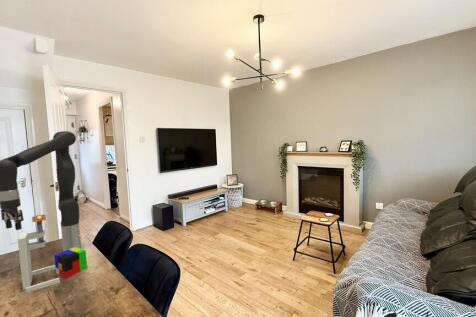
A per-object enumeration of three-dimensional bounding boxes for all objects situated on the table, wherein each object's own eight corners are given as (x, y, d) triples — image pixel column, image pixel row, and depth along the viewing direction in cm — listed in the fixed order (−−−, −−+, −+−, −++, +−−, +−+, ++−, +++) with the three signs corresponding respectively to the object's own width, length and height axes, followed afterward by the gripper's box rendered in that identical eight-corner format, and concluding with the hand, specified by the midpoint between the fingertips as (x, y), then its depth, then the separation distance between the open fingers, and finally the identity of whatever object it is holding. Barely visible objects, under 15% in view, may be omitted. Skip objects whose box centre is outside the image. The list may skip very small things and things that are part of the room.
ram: (48, 244, 117) (45, 214, 116) (48, 248, 113) (45, 216, 112) (35, 247, 114) (32, 216, 113) (34, 251, 110) (31, 218, 109)
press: (60, 266, 125) (56, 224, 124) (59, 282, 111) (55, 234, 109) (26, 276, 117) (22, 230, 115) (21, 294, 102) (16, 242, 101)
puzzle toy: (56, 273, 119) (54, 255, 118) (76, 264, 128) (75, 246, 127) (66, 278, 114) (64, 259, 113) (87, 268, 123) (85, 250, 122)
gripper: (26, 197, 119) (30, 227, 121) (10, 196, 124) (14, 225, 126) (8, 201, 112) (12, 233, 114) (-8, 199, 117) (-4, 230, 119)
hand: (13, 228), depth 120 cm, fingers open, 8 cm apart
